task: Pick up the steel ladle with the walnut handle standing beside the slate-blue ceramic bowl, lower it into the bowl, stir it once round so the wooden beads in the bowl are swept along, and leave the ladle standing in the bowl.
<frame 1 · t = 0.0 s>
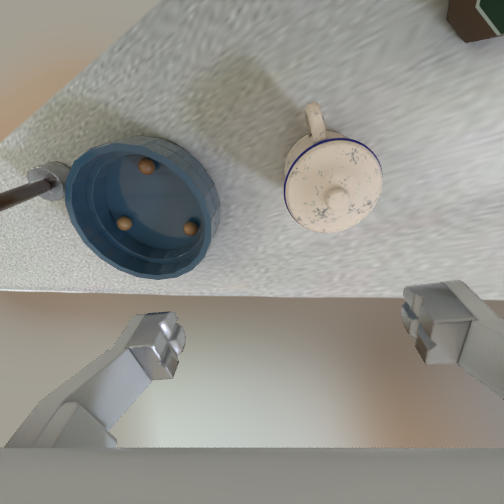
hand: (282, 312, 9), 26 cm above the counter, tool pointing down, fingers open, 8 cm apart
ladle: (62, 178, 35), on the counter
bead b: (146, 166, 31), point 2 cm above the counter, touching bowl
bead a: (190, 228, 35), point 2 cm above the counter, touching bowl
teacup with lid: (316, 156, 31), on the counter
bowl: (158, 203, 35), on the counter
bead c: (124, 223, 36), point 2 cm above the counter, touching bowl
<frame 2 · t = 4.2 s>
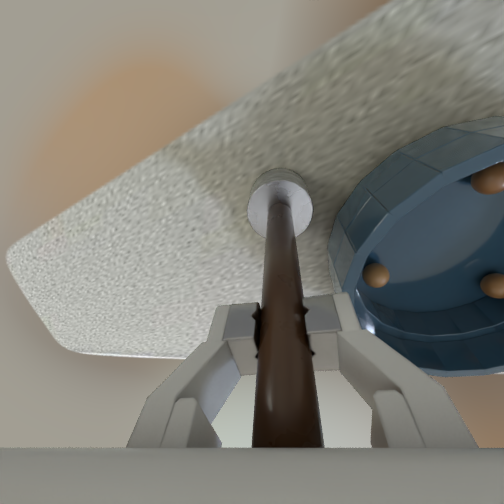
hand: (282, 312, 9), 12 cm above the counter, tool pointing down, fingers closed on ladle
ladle: (279, 197, 19), on the counter, touching gripper
bead b: (491, 178, 16), point 2 cm above the counter, touching bowl
bead a: (497, 285, 20), point 2 cm above the counter, touching bowl
bowl: (439, 241, 20), on the counter
bead c: (375, 275, 20), point 2 cm above the counter, touching bowl
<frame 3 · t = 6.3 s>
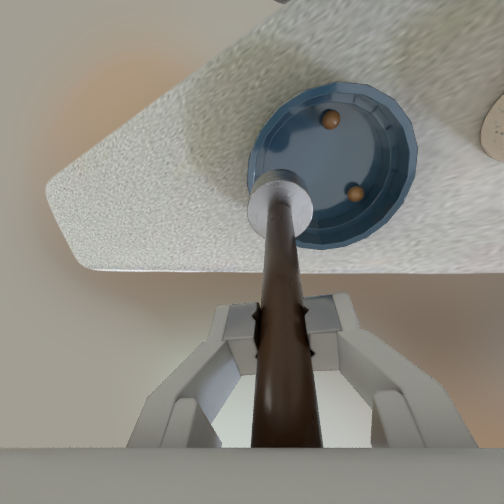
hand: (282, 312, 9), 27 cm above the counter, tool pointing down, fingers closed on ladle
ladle: (279, 197, 19), point 15 cm above the counter, touching gripper
bead b: (330, 119, 28), point 2 cm above the counter, touching bowl
bead a: (355, 194, 32), point 2 cm above the counter, touching bowl
bowl: (320, 166, 32), on the counter
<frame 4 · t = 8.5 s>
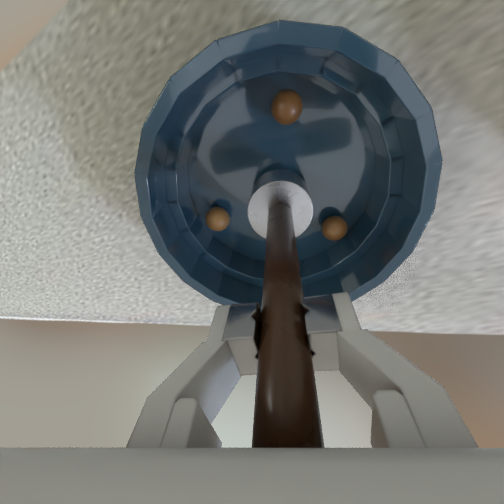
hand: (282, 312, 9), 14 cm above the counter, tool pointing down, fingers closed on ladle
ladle: (279, 197, 19), point 2 cm above the counter, touching gripper
bead b: (286, 107, 16), point 2 cm above the counter, touching bowl
bead a: (334, 228, 20), point 2 cm above the counter, touching bowl
bowl: (278, 184, 20), on the counter
bead c: (217, 219, 21), point 2 cm above the counter, touching bowl
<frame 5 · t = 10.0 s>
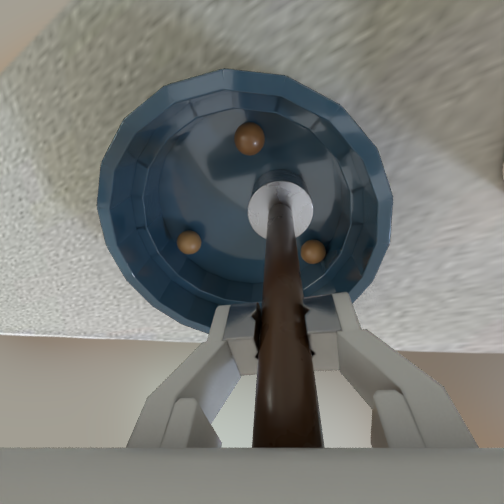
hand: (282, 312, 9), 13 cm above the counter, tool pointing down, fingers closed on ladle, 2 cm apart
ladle: (279, 198, 19), point 1 cm above the counter, touching gripper
bead b: (249, 139, 16), point 2 cm above the counter, touching bowl
bead a: (312, 251, 20), point 2 cm above the counter, tilted 42°, touching bowl
bowl: (248, 208, 21), on the counter
bead c: (189, 242, 21), point 2 cm above the counter, touching bowl
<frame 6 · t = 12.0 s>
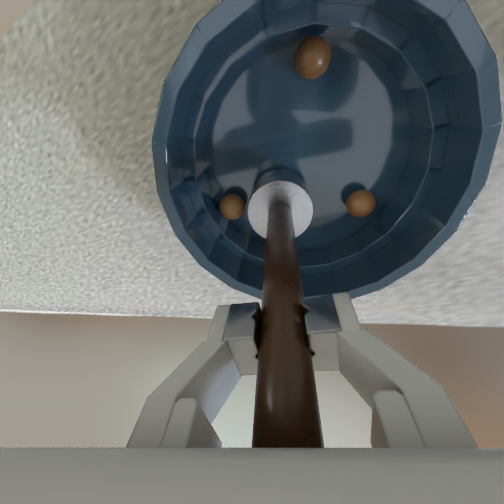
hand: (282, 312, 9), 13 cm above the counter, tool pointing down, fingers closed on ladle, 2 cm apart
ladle: (279, 197, 19), point 1 cm above the counter, touching gripper
bead b: (312, 58, 14), point 2 cm above the counter, tilted 42°, touching bowl
bead a: (360, 203, 19), point 2 cm above the counter, tilted 27°, touching bowl
bowl: (301, 162, 19), on the counter
bead c: (232, 206, 20), point 2 cm above the counter, tilted 35°, touching bowl
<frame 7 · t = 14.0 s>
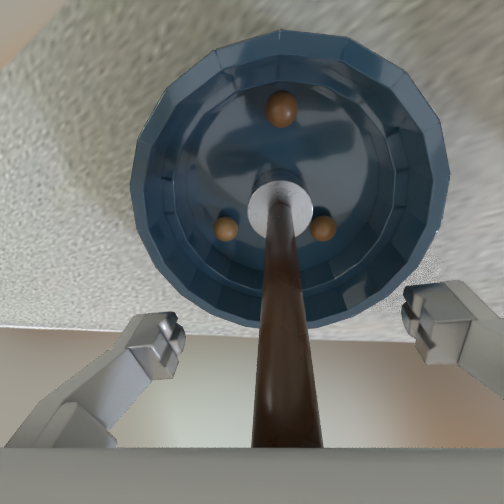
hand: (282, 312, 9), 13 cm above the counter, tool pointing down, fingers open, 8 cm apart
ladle: (279, 197, 19), point 1 cm above the counter, touching bowl
bead b: (281, 109, 15), point 2 cm above the counter, tilted 32°, touching bowl
bead a: (322, 228, 19), point 2 cm above the counter, tilted 81°, touching bowl
bowl: (278, 194, 20), on the counter
bead c: (225, 229, 20), point 2 cm above the counter, tilted 41°, touching bowl
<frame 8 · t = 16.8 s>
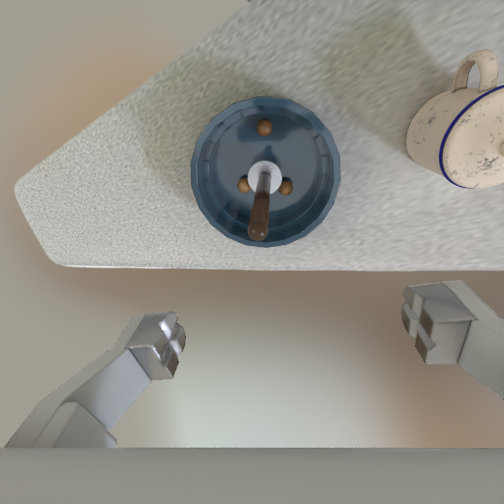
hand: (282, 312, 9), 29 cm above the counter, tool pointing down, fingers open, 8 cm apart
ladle: (265, 172, 35), point 1 cm above the counter, touching bowl
bead b: (264, 127, 31), point 2 cm above the counter, tilted 24°, touching bowl
bead a: (285, 188, 34), point 2 cm above the counter, tilted 116°, touching bowl
teacup with lid: (442, 117, 30), on the counter
bowl: (265, 170, 35), on the counter
bead c: (244, 185, 35), point 2 cm above the counter, tilted 125°, touching bowl
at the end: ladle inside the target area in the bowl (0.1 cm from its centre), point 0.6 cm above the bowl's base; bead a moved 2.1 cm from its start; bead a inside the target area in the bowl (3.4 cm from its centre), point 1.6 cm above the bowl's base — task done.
